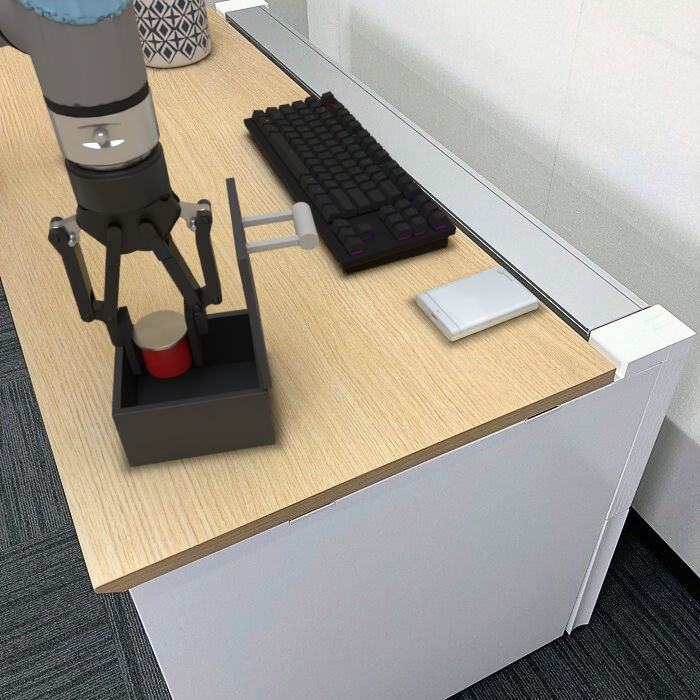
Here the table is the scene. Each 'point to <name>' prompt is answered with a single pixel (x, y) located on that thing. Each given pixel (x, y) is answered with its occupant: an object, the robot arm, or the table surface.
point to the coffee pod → (163, 343)
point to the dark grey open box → (195, 399)
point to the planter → (172, 31)
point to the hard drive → (476, 302)
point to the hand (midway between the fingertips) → (168, 360)
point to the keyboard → (348, 184)
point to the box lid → (303, 238)
